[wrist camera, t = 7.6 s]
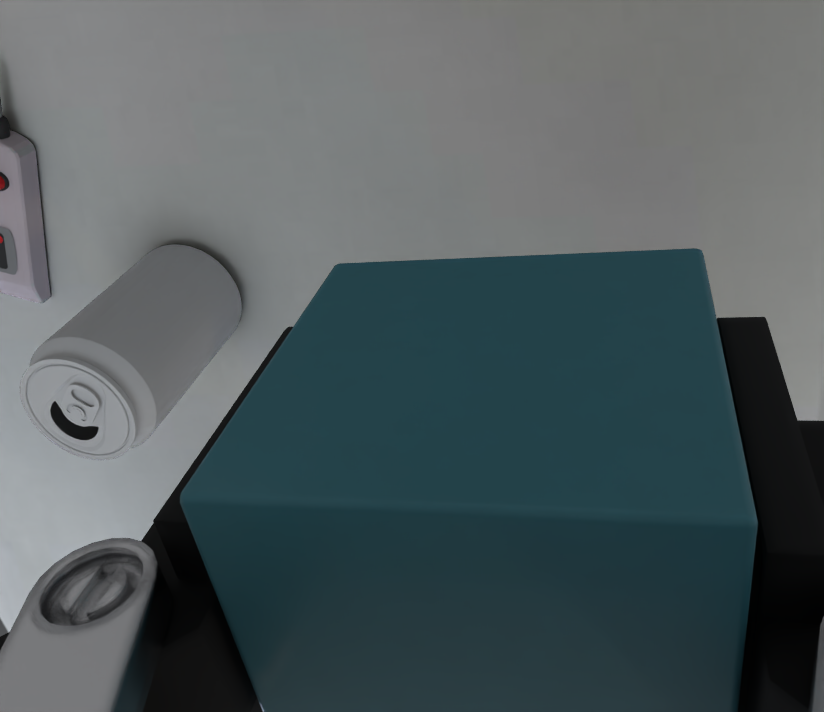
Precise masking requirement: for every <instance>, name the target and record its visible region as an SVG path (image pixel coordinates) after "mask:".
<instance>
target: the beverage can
mask: <svg viewBox="0 0 824 712" xmlns="http://www.w3.org/2000/svg"><path fill="white" fill-rule="evenodd" d="M241 312H242V304H241V297H240V294H239V291H238V288H237V286H236V284H235V282H234V280H233V278H232V277H231V275H230V274H229V273H228V271H227V270H226V269H225V268H224V267H223V266H222V265H221V264H220V263H219V262H218V261H217V260H215V259H214V258H213V257H211V256H210V255H208V254H207V253H205V252H203V251H201V250H199V249H196V248H193V247H190V246H185V245H177V244H172V245H165V246H161V247H158V248H156V249H154V250H152V251H151V252H149V253H148V254H147V255H145V256H144V257H143V258H142V259H141V260H140V261H139V262H137V263H136V264H135V265H134V266H133V267H132V268H130V269H129V270H128V271H127V272H126V273H125V274H123V275H122V276H121V277H120V278H119V279H118V280H116V281H115V282H114V283H113V284H112V285H111V286H109V287H108V288H107V289H106V290H105V291H104V292H102V293H101V294H100V295H99V296H98V297H97V298H95V299H94V300H93V301H92V302H91V303H90V304H88V305H87V306H86V307H85V308H84V309H83V310H81V311H80V312H79V313H78V314H77V315H76V316H74V317H73V318H72V319H71V320H70V321H69V322H68V323H66V324H65V325H64V326H63V327H62V328H61V329H59V330H58V331H57V332H56V333H55V334H54V335H52V336H51V337H50V338H49V339H48V340H47V341H45V342H44V343H43V344H42V345H41V346H40V347H39V348H38V349H37V350H36V351H35V353H34V354H33V356H32V358H31V362H30V367H29V368H28V369H27V370H26V371H25V373H24V374H23V376H22V379H21V383H20V396H21V401H22V404H23V406H24V409H25V411H26V413H27V415H28V416H29V418H30V420H31V421H32V422H33V424H34V425H35V426H36V427H37V428H38V429H39V431H40V432H41V433H42V434H43V435H44V436H45V437H47V438H48V439H49V440H50V441H51V442H53V443H54V444H56V445H57V446H59V447H60V448H62V449H64V450H66V451H68V452H70V453H72V454H74V455H77V456H80V457H83V458H87V459H92V460H109V459H114V458H117V457H119V456H121V455H123V454H124V453H126V452H127V451H128V450H129V449H130V448H133V447H136V446H138V445H140V444H142V443H143V442H145V441H146V440H147V439H148V438H149V437H150V436H151V434H152V433H153V432H154V431H155V429H156V428H157V427H158V426H159V424H160V423H161V422H162V421H163V419H164V418H165V417H166V416H167V415H168V413H169V412H170V411H171V410H172V408H173V407H174V406H175V405H176V403H177V402H178V401H179V400H180V398H181V397H182V396H183V395H184V393H185V392H186V391H187V390H188V388H189V387H190V386H191V385H192V383H193V382H194V381H195V380H196V378H197V377H198V376H199V375H200V373H201V372H202V371H203V370H204V368H205V367H206V366H207V365H208V363H209V362H210V361H211V360H212V358H213V357H214V356H215V355H216V353H217V352H218V351H219V350H220V348H221V347H222V346H223V345H224V343H225V342H226V341H227V340H228V338H229V337H230V336H231V335H232V333H233V332H234V331H235V329H236V328H237V326H238V324H239V321H240V318H241Z"/></svg>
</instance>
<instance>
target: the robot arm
mask: <svg viewBox="0 0 824 712" xmlns="http://www.w3.org/2000/svg"><path fill="white" fill-rule="evenodd" d="M717 324H718V329H719V334H720V339H721V344H722V348H723V353H724V358H725V363H726V368H727V373H728V378H729V383H730V388H731V393H732V398H733V402H734V407H735V412H736V417H737V422H738V427H739V432H740V437H741V442H742V447H743V451H744V456H745V461H746V466H747V471H748V476H749V481H750V486H751V491H752V496H753V500H754V505H755V510H756V515H757V520H758V527H757V536H756V546H755V555H754V564H753V574H752V583H751V593H750V602H749V611H748V621H747V630H746V639H745V649H744V658H743V667H742V677H741V686H740V695H739V705H738V712H824V421H797V418H796V415H795V411H794V408H793V405H792V402H791V398H790V395H789V392H788V389H787V385H786V382H785V379H784V376H783V372H782V369H781V366H780V363H779V359H778V356H777V353H776V349H775V346H774V343H773V340H772V336H771V333H770V330H769V327H768V323H767V321H766V318H765V317H736V318H717ZM292 328H293V327H288V328H287V329H286V330H285V331H284V332H283V333H282V335H281V336H280V338H279V339H278V341H277V342H276V344H275V345H274V346H273V348H272V349H271V351H270V352H269V354H268V355H267V357H266V358H265V359H264V361H263V362H262V364H261V365H260V367H259V368H258V370H257V371H256V373H255V374H254V375H253V377H252V378H251V380H250V381H249V383H248V384H247V386H246V387H245V388H244V390H243V391H242V393H241V394H240V396H239V397H238V399H237V400H236V402H235V403H234V404H233V406H232V407H231V409H230V410H229V412H228V413H227V415H226V416H225V417H224V419H223V420H222V422H221V423H220V425H219V426H218V428H217V429H216V431H215V432H214V433H213V435H212V436H211V438H210V439H209V441H208V442H207V444H206V445H205V446H204V448H203V449H202V451H201V452H200V454H199V455H198V457H197V458H196V459H195V461H194V462H193V464H192V465H191V467H190V468H189V470H188V471H187V473H186V474H185V475H184V477H183V478H182V480H181V481H180V483H179V484H178V486H177V487H176V488H175V490H174V491H173V493H172V494H171V496H170V497H169V499H168V500H167V502H166V503H165V504H164V506H163V507H162V509H161V510H160V512H159V513H158V515H157V516H156V517H155V519H154V520H153V522H154V523H153V525H152V526H151V528H150V529H149V531H148V532H147V534H146V535H145V536H144V538H143V539H142V541H137V540H134V539H130V538H111V539H107V540H103V541H98V542H94V543H91V544H89V545H87V546H84V547H82V548H80V549H77V550H75V551H73V552H71V553H70V554H68V555H67V556H65V557H64V558H62V559H61V560H59V561H58V562H56V563H55V564H54V565H53V566H52V567H51V568H49V569H48V570H47V571H46V572H45V573H44V574H43V575H42V576H41V577H40V578H39V580H38V581H37V583H36V584H35V586H34V587H33V588H32V590H31V591H30V593H29V595H28V597H27V599H26V601H25V603H24V605H23V607H22V609H21V611H20V613H19V615H18V617H17V619H16V621H15V623H14V625H13V627H12V629H11V631H10V632H9V633H7V634H5V635H3V636H1V637H0V712H263V711H262V708H261V706H260V703H259V701H258V698H257V696H256V693H255V691H254V688H253V686H252V683H251V681H250V678H249V676H248V673H247V671H246V668H245V665H244V663H243V660H242V658H241V655H240V653H239V650H238V648H237V645H236V643H235V640H234V638H233V635H232V633H231V630H230V628H229V625H228V623H227V620H226V618H225V615H224V613H223V610H222V607H221V605H220V602H219V600H218V597H217V595H216V592H215V590H214V587H213V585H212V582H211V580H210V577H209V575H208V572H207V570H206V567H205V565H204V562H203V560H202V557H201V555H200V552H199V549H198V547H197V544H196V542H195V539H194V537H193V534H192V532H191V529H190V527H189V524H188V522H187V519H186V517H185V514H184V512H183V509H182V507H181V504H180V495H181V492H182V490H183V489H184V488H185V486H186V485H187V483H188V482H189V480H190V479H191V477H192V476H193V474H194V473H195V471H196V470H197V468H198V467H199V465H200V464H201V462H202V461H203V459H204V458H205V457H206V455H207V454H208V452H209V451H210V449H211V448H212V446H213V445H214V443H215V442H216V440H217V439H218V437H219V436H220V434H221V433H222V431H223V430H224V428H225V427H226V426H227V424H228V423H229V421H230V420H231V418H232V417H233V415H234V414H235V412H236V411H237V409H238V408H239V406H240V405H241V403H242V402H243V400H244V399H245V397H246V396H247V395H248V393H249V392H250V390H251V389H252V387H253V386H254V384H255V383H256V381H257V380H258V378H259V377H260V375H261V374H262V372H263V371H264V369H265V368H266V366H267V365H268V364H269V362H270V361H271V359H272V358H273V356H274V355H275V353H276V352H277V350H278V349H279V347H280V346H281V344H282V343H283V341H284V340H285V338H286V337H287V335H288V334H289V333H290V331H291V330H292Z"/></svg>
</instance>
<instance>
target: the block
mask: <svg viewBox="0 0 824 712" xmlns="http://www.w3.org/2000/svg"><path fill="white" fill-rule="evenodd" d="M180 504H181V507H182V509H183V512H184V514H185V517H186V519H187V522H188V524H189V527H190V529H191V532H192V534H193V537H194V539H195V542H196V544H197V547H198V549H199V552H200V555H201V557H202V560H203V562H204V565H205V567H206V570H207V572H208V575H209V577H210V580H211V582H212V585H213V587H214V590H215V592H216V595H217V597H218V600H219V602H220V605H221V607H222V610H223V613H224V615H225V618H226V620H227V623H228V625H229V628H230V630H231V633H232V635H233V638H234V640H235V643H236V645H237V648H238V650H239V653H240V655H241V658H242V660H243V663H244V665H245V668H246V671H247V673H248V676H249V678H250V681H251V683H252V686H253V688H254V691H255V693H256V696H257V698H258V701H259V703H260V706H261V708H262V711H263V712H738V705H739V695H740V686H741V677H742V667H743V658H744V649H745V639H746V630H747V621H748V611H749V602H750V593H751V583H752V574H753V564H754V555H755V546H756V536H757V527H758V520H757V515H756V510H755V505H754V500H753V496H752V491H751V486H750V481H749V476H748V471H747V466H746V461H745V456H744V451H743V447H742V442H741V437H740V432H739V427H738V422H737V417H736V412H735V407H734V402H733V398H732V393H731V388H730V383H729V378H728V373H727V368H726V363H725V358H724V353H723V348H722V344H721V339H720V334H719V329H718V324H717V319H716V314H715V309H714V304H713V299H712V295H711V290H710V285H709V280H708V275H707V270H706V265H705V260H704V255H703V253H702V251H701V250H700V249H672V250H649V251H625V252H601V253H578V254H554V255H531V256H507V257H483V258H460V259H436V260H413V261H389V262H365V263H342V264H337V265H335V266H334V268H333V269H332V271H331V272H330V273H329V275H328V276H327V278H326V279H325V281H324V282H323V284H322V285H321V287H320V288H319V290H318V291H317V293H316V294H315V296H314V297H313V299H312V300H311V302H310V303H309V304H308V306H307V307H306V309H305V310H304V312H303V313H302V315H301V316H300V318H299V319H298V321H297V322H296V324H295V325H294V327H293V328H292V330H291V331H290V333H289V334H288V335H287V337H286V338H285V340H284V341H283V343H282V344H281V346H280V347H279V349H278V350H277V352H276V353H275V355H274V356H273V358H272V359H271V361H270V362H269V364H268V365H267V366H266V368H265V369H264V371H263V372H262V374H261V375H260V377H259V378H258V380H257V381H256V383H255V384H254V386H253V387H252V389H251V390H250V392H249V393H248V395H247V396H246V397H245V399H244V400H243V402H242V403H241V405H240V406H239V408H238V409H237V411H236V412H235V414H234V415H233V417H232V418H231V420H230V421H229V423H228V424H227V426H226V427H225V428H224V430H223V431H222V433H221V434H220V436H219V437H218V439H217V440H216V442H215V443H214V445H213V446H212V448H211V449H210V451H209V452H208V454H207V455H206V457H205V458H204V459H203V461H202V462H201V464H200V465H199V467H198V468H197V470H196V471H195V473H194V474H193V476H192V477H191V479H190V480H189V482H188V483H187V485H186V486H185V488H184V489H183V490H182V492H181V495H180Z"/></svg>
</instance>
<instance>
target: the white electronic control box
mask: <svg viewBox="0 0 824 712" xmlns="http://www.w3.org/2000/svg"><path fill="white" fill-rule="evenodd" d="M0 292H1V293H4V294H8V295H11V296H14V297H18V298H21V299H25V300H29V301H33V302H37V303H44V302H45V301H46V300H47V299H49V298H50V297H51V294H50V286H49V279H48V270H47V260H46V250H45V240H44V230H43V220H42V210H41V200H40V190H39V180H38V170H37V160H36V150H35V148H34V146H33V144H32V143H31V142H30V141H29V140H28V139H27V138H25V137H23V136H22V135H20V134H18V133H16V132H14V131H11V130H10V128H9V123H8V120H7V118H6V117H5V116H3V115H2V107H1V99H0Z"/></svg>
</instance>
